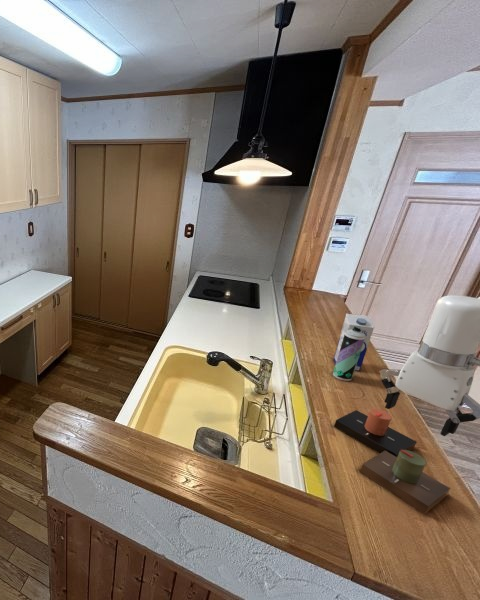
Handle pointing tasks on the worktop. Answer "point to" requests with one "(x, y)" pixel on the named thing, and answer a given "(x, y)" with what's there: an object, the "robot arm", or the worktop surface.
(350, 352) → the spray can
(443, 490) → the brown dial base plate
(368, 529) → the worktop surface
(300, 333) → the worktop surface
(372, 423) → the dial knob
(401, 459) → the green rotary knob near
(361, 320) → the milk carton
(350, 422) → the black dial base plate
